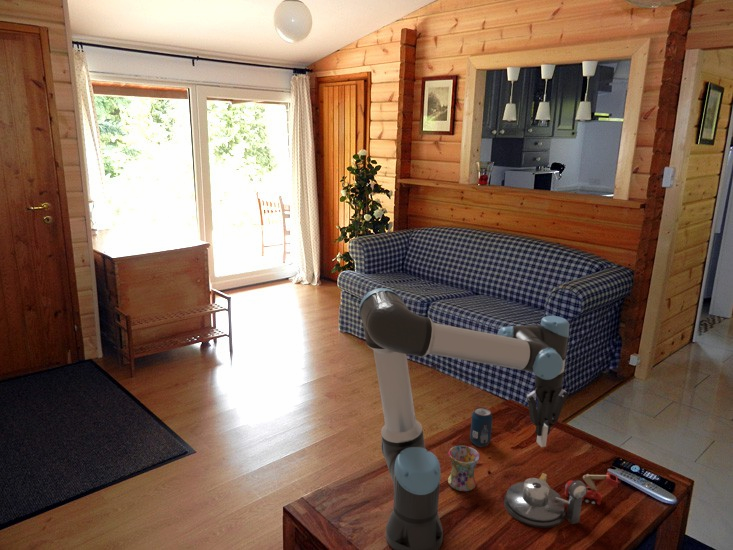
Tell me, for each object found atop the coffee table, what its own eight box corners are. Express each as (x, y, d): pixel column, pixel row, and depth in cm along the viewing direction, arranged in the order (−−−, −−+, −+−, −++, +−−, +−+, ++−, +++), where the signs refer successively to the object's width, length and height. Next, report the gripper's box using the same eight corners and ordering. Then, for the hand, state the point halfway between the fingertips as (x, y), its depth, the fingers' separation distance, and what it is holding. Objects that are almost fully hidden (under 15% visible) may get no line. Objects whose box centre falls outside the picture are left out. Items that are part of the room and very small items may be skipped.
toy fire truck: (564, 491, 168) (568, 463, 166) (613, 503, 163) (618, 474, 161) (563, 497, 165) (567, 469, 163) (613, 510, 160) (618, 480, 158)
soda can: (477, 434, 198) (480, 404, 195) (494, 442, 193) (497, 411, 190) (465, 441, 193) (468, 410, 190) (482, 450, 188) (484, 418, 185)
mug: (481, 492, 167) (484, 461, 164) (452, 495, 165) (454, 464, 162) (467, 469, 178) (470, 439, 175) (440, 471, 176) (441, 441, 174)
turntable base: (523, 532, 151) (523, 528, 150) (493, 493, 166) (494, 489, 166) (577, 522, 155) (578, 518, 155) (543, 485, 171) (544, 481, 170)
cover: (518, 500, 159) (520, 486, 158) (527, 488, 165) (529, 474, 163) (543, 510, 155) (544, 496, 154) (551, 497, 161) (552, 483, 160)
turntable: (498, 507, 158) (499, 491, 157) (516, 479, 171) (518, 464, 170) (555, 530, 150) (557, 513, 148) (570, 499, 163) (572, 482, 161)
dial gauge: (563, 526, 153) (568, 486, 150) (552, 513, 158) (557, 475, 155) (582, 522, 155) (588, 483, 152) (571, 510, 160) (577, 472, 156)
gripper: (536, 378, 152) (528, 454, 158) (578, 373, 155) (568, 448, 161) (522, 366, 159) (514, 440, 165) (562, 363, 162) (553, 434, 168)
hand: (541, 444), depth 163 cm, fingers closed
